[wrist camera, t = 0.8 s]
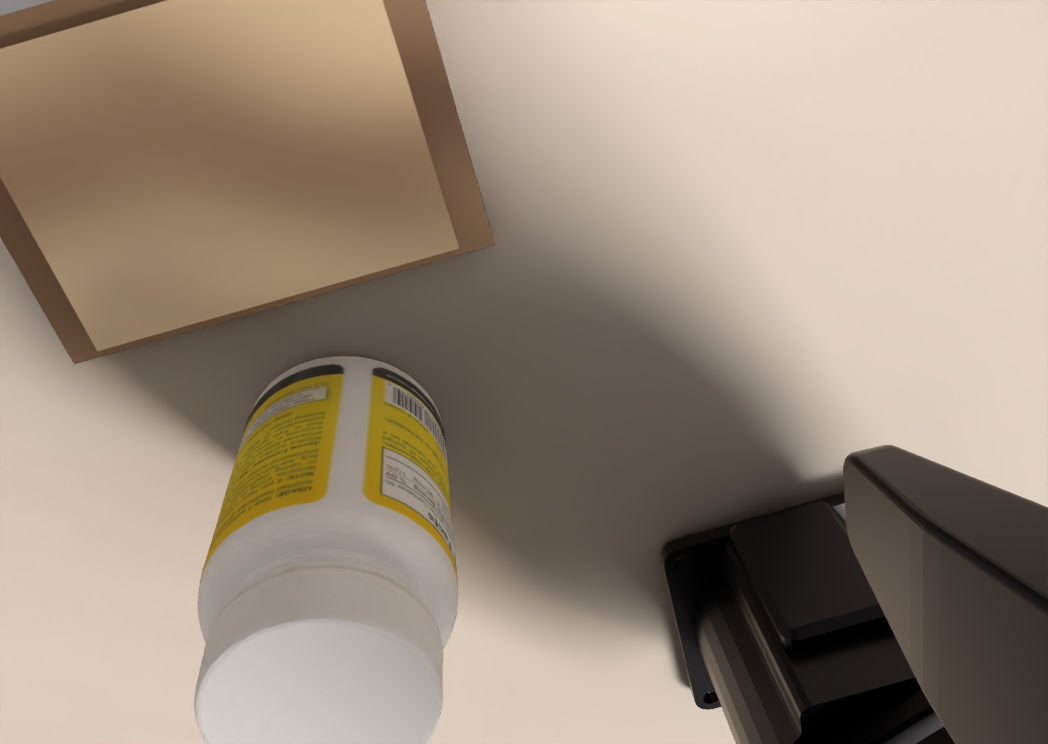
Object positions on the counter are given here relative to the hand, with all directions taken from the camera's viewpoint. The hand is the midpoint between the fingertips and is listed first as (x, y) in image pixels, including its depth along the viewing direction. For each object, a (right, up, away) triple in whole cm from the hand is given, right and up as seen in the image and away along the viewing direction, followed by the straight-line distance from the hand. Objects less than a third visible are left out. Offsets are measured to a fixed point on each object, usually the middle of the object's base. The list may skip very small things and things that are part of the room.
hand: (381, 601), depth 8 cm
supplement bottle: (-3, +1, +14) cm, 14 cm away
